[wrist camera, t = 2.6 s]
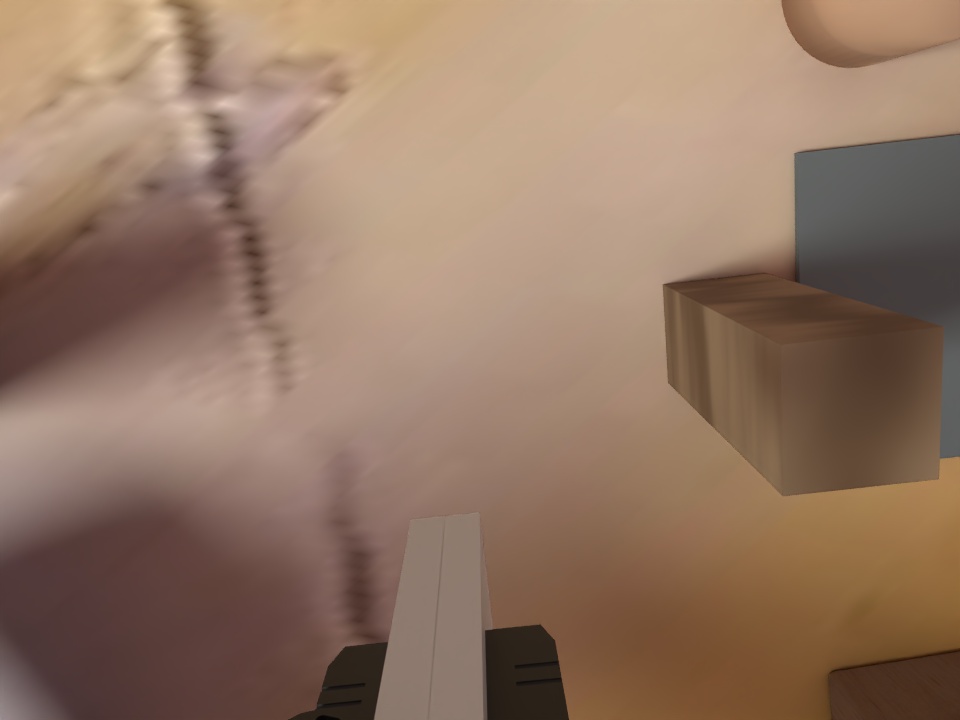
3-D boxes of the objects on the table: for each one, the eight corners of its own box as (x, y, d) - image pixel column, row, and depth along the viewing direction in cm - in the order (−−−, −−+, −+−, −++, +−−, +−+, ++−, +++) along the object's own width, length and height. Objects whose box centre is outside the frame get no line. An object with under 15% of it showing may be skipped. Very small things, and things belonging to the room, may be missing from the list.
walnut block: (668, 383, 38) (783, 496, 24) (662, 284, 36) (780, 344, 23) (767, 371, 38) (938, 479, 24) (765, 273, 36) (943, 326, 23)
